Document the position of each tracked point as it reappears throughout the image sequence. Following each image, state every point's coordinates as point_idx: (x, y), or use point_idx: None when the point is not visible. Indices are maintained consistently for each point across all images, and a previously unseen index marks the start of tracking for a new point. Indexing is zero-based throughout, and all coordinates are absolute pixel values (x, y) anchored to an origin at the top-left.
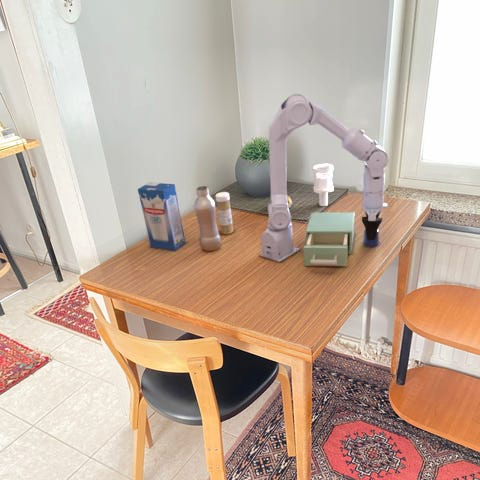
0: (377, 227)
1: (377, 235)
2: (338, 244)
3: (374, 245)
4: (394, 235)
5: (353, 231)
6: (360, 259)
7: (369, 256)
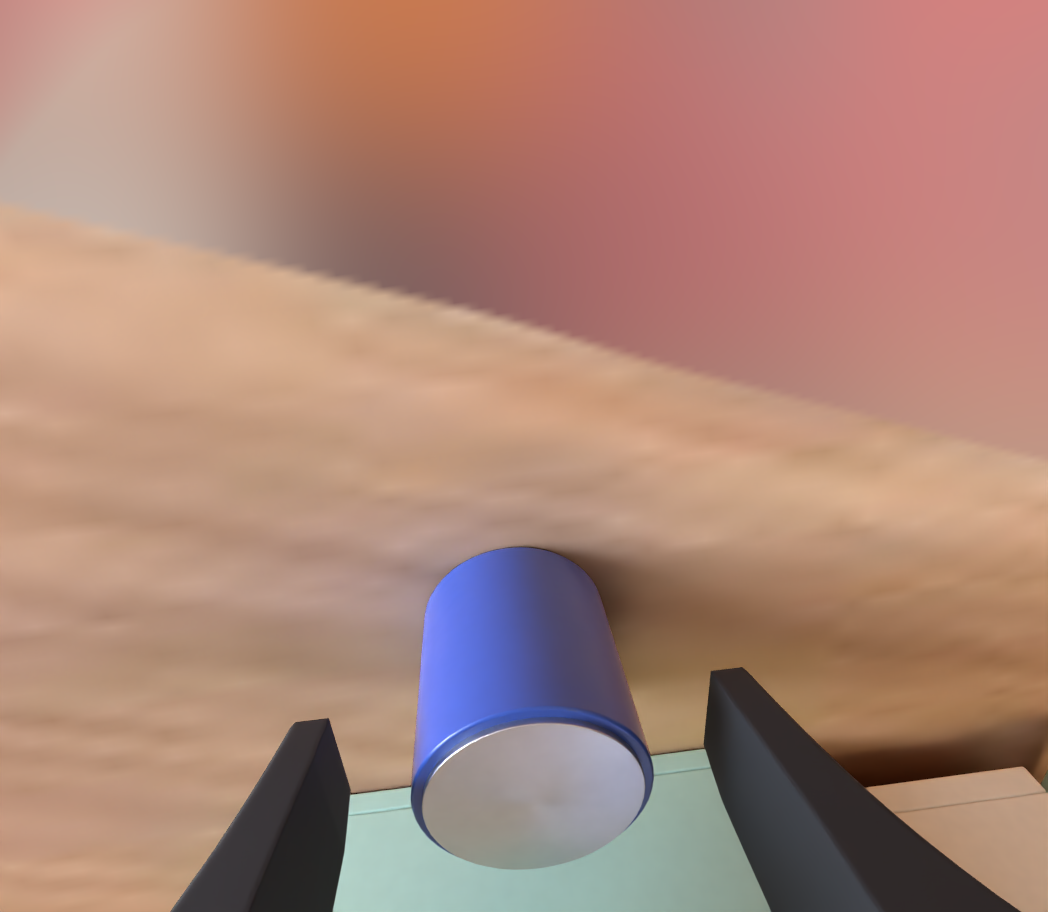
0: (1000, 904)
1: (585, 660)
2: None
3: (590, 582)
4: (152, 363)
5: (404, 884)
6: (908, 648)
7: (853, 583)
